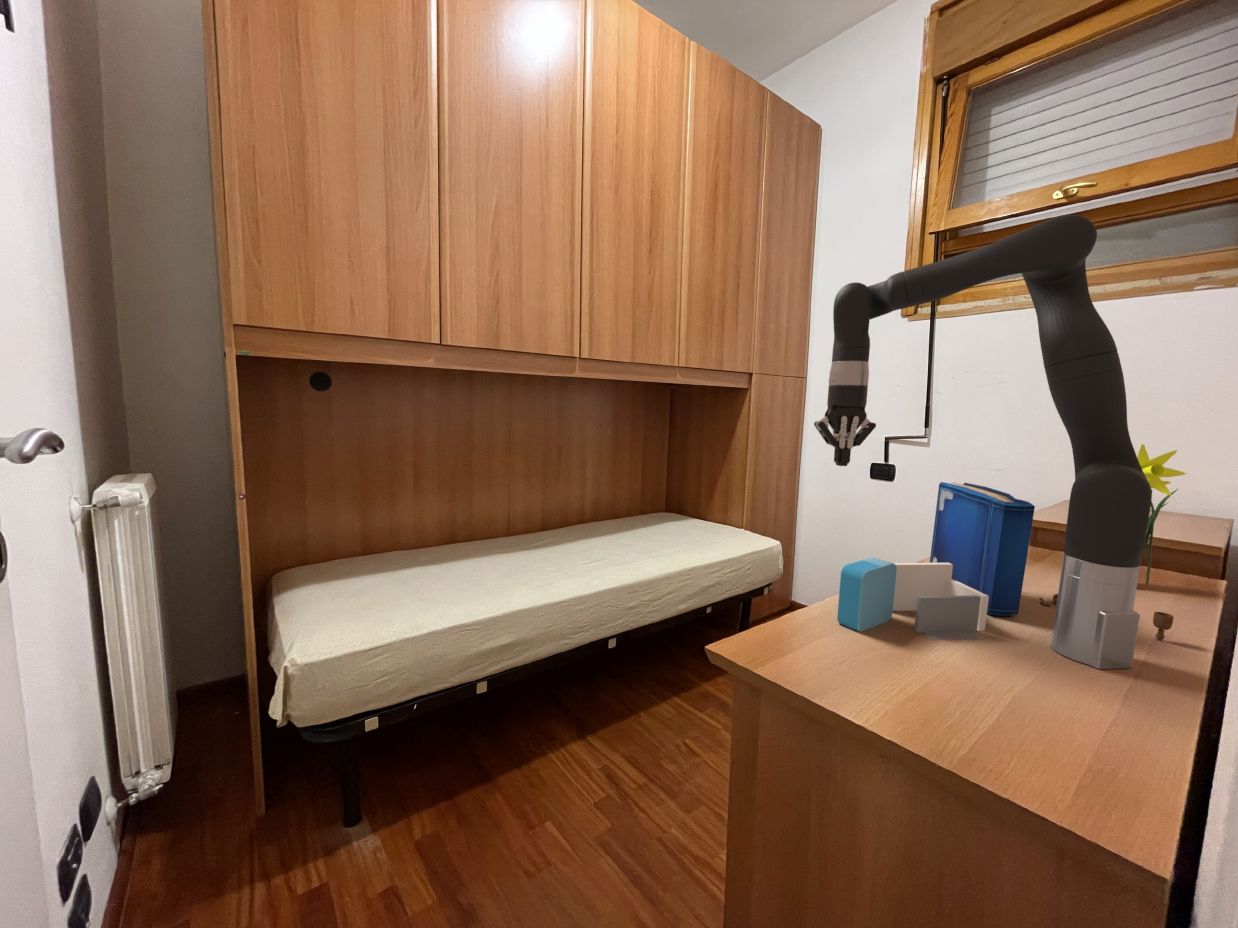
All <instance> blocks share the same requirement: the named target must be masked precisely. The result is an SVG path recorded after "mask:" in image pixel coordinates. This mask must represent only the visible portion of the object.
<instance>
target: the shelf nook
mask: <svg viewBox="0 0 1238 928" xmlns="http://www.w3.org/2000/svg"><path fill="white" fill-rule="evenodd" d="M893 563H894V564H895V565H896V568H897V570H896V581H895V592H894V602H893V612H904V611H905V612H907V611H909V612H911V611H912V612H913V611H914V612H915V621H914V622H915V623H914V632H915V633H920V634H924V635H925V636H927V637H929V638H930V639H931V640H933V641H948V640H949V641H950V640H951V641H952V640H953V641H954V640H956V641H957V640H960V641H961V640H985V639H986V638H985V637H983V636H981V635H980V634H978V633H977V631H985V630H986V625H987V624H986V623H987V616H988V615H987V614H988V613H987V607H988V599H989V596H988V595H986V594H983V593H981V592H979V591H977V590H975V589H973V588H971V587H969V586H966V585H964V584H962V583H960V582H958V581H956V580H954V579H952V578H951V577H952V568H953V564H951V563H930V562H893Z"/></svg>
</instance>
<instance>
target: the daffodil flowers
mask: <svg viewBox="0 0 1238 928" xmlns="http://www.w3.org/2000/svg"><path fill="white" fill-rule="evenodd" d="M1147 451H1148V450H1147V449H1146V446H1145V444H1143V443H1142V444H1141V445H1140V449H1139V451H1138V453H1137V458H1138V461H1139V463H1140V466H1141V468H1142V470H1143V473H1144V475H1145V476H1146V478H1147V480H1148V482H1149V484H1150V487H1151V491H1152V492H1153V489H1155V490H1156V491H1159V492H1160V493H1162V494H1165V495H1166V496H1164V498H1162V500H1161V501H1160V502H1159V503H1158V504H1157V506H1156V508H1155V507H1154V504H1153V502H1152V501H1151V508H1150V511H1151V514H1149V520H1148V526H1147V532H1146V537H1145V545H1144V549H1143V554H1142V558H1141V564H1140V567H1141V565H1142V561H1143V557H1144V554H1145V551H1146V547H1147V544H1148V541H1149V545H1148V546H1149V547H1148V560H1147V567H1146V568H1147V570H1146V578H1145V585H1147V586H1149V582H1150V576H1151V575H1150V573H1151V565H1152V552H1153V551H1152V550H1153V539H1154V538H1153V537H1154V526H1155V522H1156V520H1157V518H1158V515H1159V513H1160V511H1161V509H1163V507H1165V506H1166V505H1167V504H1168V502H1166V501H1167V500H1168V499H1169V498H1171V496H1172V495H1174V494H1175V493H1176V492H1177V491H1178V490H1179V488H1176V489H1175V490H1173V491H1172V492H1170V490H1169V489H1168V487H1167V486H1166V485H1170V484H1171V483H1172V482H1171V481H1169V480H1168V481H1167V480H1163V479H1161V478H1172V477H1179V476H1184V475H1186V474H1187V473H1186V472H1184V471H1181V470H1178V469H1173V468H1169V467H1165V466H1164V465H1165V463H1167V462H1168V461H1169V460H1170V459H1171V457H1174V455H1175V454H1177V451H1178V450H1177V449H1175V450H1172V451H1169V452H1166V453H1163V454H1161V455H1158V456H1157V457H1154V458H1152V459H1150V458H1149V454H1148V452H1147ZM1140 569H1141V568H1140ZM1140 569H1139V572H1140ZM1139 575H1140V574H1139ZM1139 575H1138V577H1139Z"/></svg>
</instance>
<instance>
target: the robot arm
mask: <svg viewBox="0 0 1238 928" xmlns="http://www.w3.org/2000/svg"><path fill="white" fill-rule="evenodd" d="M1097 238H1098V232H1097V228H1096V225H1095V224H1094V223H1093V221H1092V220H1091V219H1088V218H1087V217H1085V216H1082V215H1078V214H1064V215H1059V216H1055V217H1052V218H1050V219H1047V220H1045V221H1042V222H1040V223H1038V224H1035V225H1033V226H1030V227H1028V228H1026V229H1024V230H1022V231H1019V232H1017V233H1014V234H1012V235H1010V236H1007V237H1004V238H1003V239H1002V238H1001V239H999V240H998V241H995V242H991V243H990V244H987V245H984V246H981V247H979V248H975V249H973V250H969V251H967V252H964V253H961V254H958V255H954V256H952V257H948V258H945V259H942V260H938V261H935V262H932V263H928V264H924V265H921V266H917V267H914V268H911V269H907V270H906V269H905V270H904V271H899V272H897V273H894V274H893V275H890V276H889V277H888V278H886V280H883V281H880V282H877V283H875V284H872V285H868V286H867V285H866V284H864V283H861V282H850V283H847V284H845V285H844V286H843V287H841V288H840V289H839V290H838V292H837V293H836V295H835V298H834V302H833V308H832V309H833V312H832V313H833V315H832V316H833V317H832V319H833V334H834V335H833V336H834V337H833V345H832V355H831V366H830V371H829V378H828V390H827V401H826V402H827V403H826V404H827V410H826V411H825V413H824V417H823V418H821V419H820V420H818V421H817V420H816V421H814V423H813V425H814V427H815V429H816V430H817V432H818V433H819V435H820V436H821V437H822V440H824V442H825V443H826V445H829V446H831V447H833V448H834V454H833V462H834V463H835V465H836V466H838V467H847V466H848V464H850V461H851V452H852V449H853V448H854V447H859V446H861V445H862V444H863V442H865V440H866V439H867V438H869V435H870V434H872V432H873V431H874V429H876V427H877V424H876V422H872V421H870V420H869V419H868V418H867V417H868V415H867V412H866V406H867V401H868V392H869V391H868V389H869V388H868V387H869V379H870V369H869V367H870V366H869V361H870V360H869V359H870V349H871V338H870V334H869V329H870V320H873V319H876V318H879V317H881V316H884V315H888V314H890V313H892V312H894V311H899V310H902V309H908V308H912V307H915V306H920V305H924V304H928V303H932V302H935V301H939V300H942V299H945V298H947V297H950V296H953V295H955V294H958V293H959V292H962V291H965V290H966V289H969V288H972V287H974V286H977V285H981V284H983V283H986V282H989V281H992V280H997V279H999V278H1004V277H1007V276H1013V275H1018V274H1021V276H1022V278H1023V280H1024V282H1025V283H1024V284H1025V285H1026V287H1027V290H1028V293H1029V296H1030V298H1031V301H1032V304H1033V306H1034V310H1035V314H1036V318H1037V320H1036V321H1037V327H1038V336H1039V343H1040V344H1039V345H1040V351H1041V355H1042V362H1043V367H1044V371H1045V376H1046V380H1047V385H1048V389H1049V392H1050V395H1051V398H1052V401H1053V404H1054V407H1055V408H1056V411H1057V413H1058V415H1059V417H1060V420H1061V422H1062V424H1063V426H1064V428H1065V430H1066V432H1067V435H1068V437H1069V440H1070V444H1071V445H1070V446H1071V449H1072V456H1073V458H1072V459H1073V465H1074V481H1073V484H1072V486H1071V489H1070V497H1069V502H1068V503H1069V504H1068V511H1067V519H1066V525H1065V532H1064V533H1065V534H1064V535H1065V536H1064V549H1063V555H1062V563H1061V569H1060V570H1061V571H1060V579H1059V585H1058V592H1057V594H1058V598H1057V605H1056V604H1055V605H1056V606H1055V613H1054V621H1053V627H1052V628H1053V629H1052V636H1051V645H1050V646H1051V648H1052V649H1053V650H1054V651H1055V652H1057V653H1058V654H1060V655H1062V656H1063V657H1066V658H1068V659H1070V660H1073V661H1076V662H1078V663H1083V664H1085V665H1088V666H1091V667H1093V668H1095V669H1097V670H1107V669H1108V670H1109V669H1110V670H1111V669H1115V670H1116V669H1132V666H1133V660H1134V654H1135V649H1136V648H1135V647H1136V641H1137V637H1138V636H1137V635H1138V628H1139V622H1140V616H1141V614H1140V613H1139V612H1137V611H1136V610H1134V606H1135V601H1136V599H1135V598H1136V595H1137V589H1138V588H1137V587H1138V582H1139V581H1138V580H1139V576H1138V575H1140V571H1139V569H1141V566H1140V564H1141V565H1142V562H1141V558H1142V554H1143V549H1144V545H1145V537H1146V532H1147V530H1148V529H1147V526H1148V520H1149V517H1150V515H1151V514H1150V513H1151V501H1152V500H1153V490H1152V491H1151V489H1152V488H1151V487H1150V484H1149V482H1148V480H1147V478H1146V476H1145V475H1144V473H1143V470H1142V468H1141V466H1140V463H1139V461H1138V458H1137V457H1138V455H1137V453H1136V451H1135V448H1134V445H1133V442H1132V440H1131V435H1130V431H1129V425H1128V407H1127V406H1128V405H1127V393H1126V386H1125V378H1124V377H1125V376H1124V371H1123V368H1122V364H1121V359H1120V354H1119V352H1118V348H1117V344H1116V342H1115V340H1114V337H1113V335H1112V333H1111V331H1110V330H1109V328H1108V326H1107V324H1106V323H1105V321H1104V320H1103V318H1102V317H1101V316H1100V314H1099V312H1098V311H1097V309H1096V308H1095V305H1094V304H1093V302H1092V299H1091V295H1090V290H1089V285H1088V278H1087V267H1086V260H1087V258H1088V257H1089V255H1090V254H1091V252H1092V251H1093V249H1094V247H1095V245H1096V243H1097ZM829 427H830V428H831V430H832V432H831V431H830V429H829ZM1142 559H1143V558H1142Z"/></svg>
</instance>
